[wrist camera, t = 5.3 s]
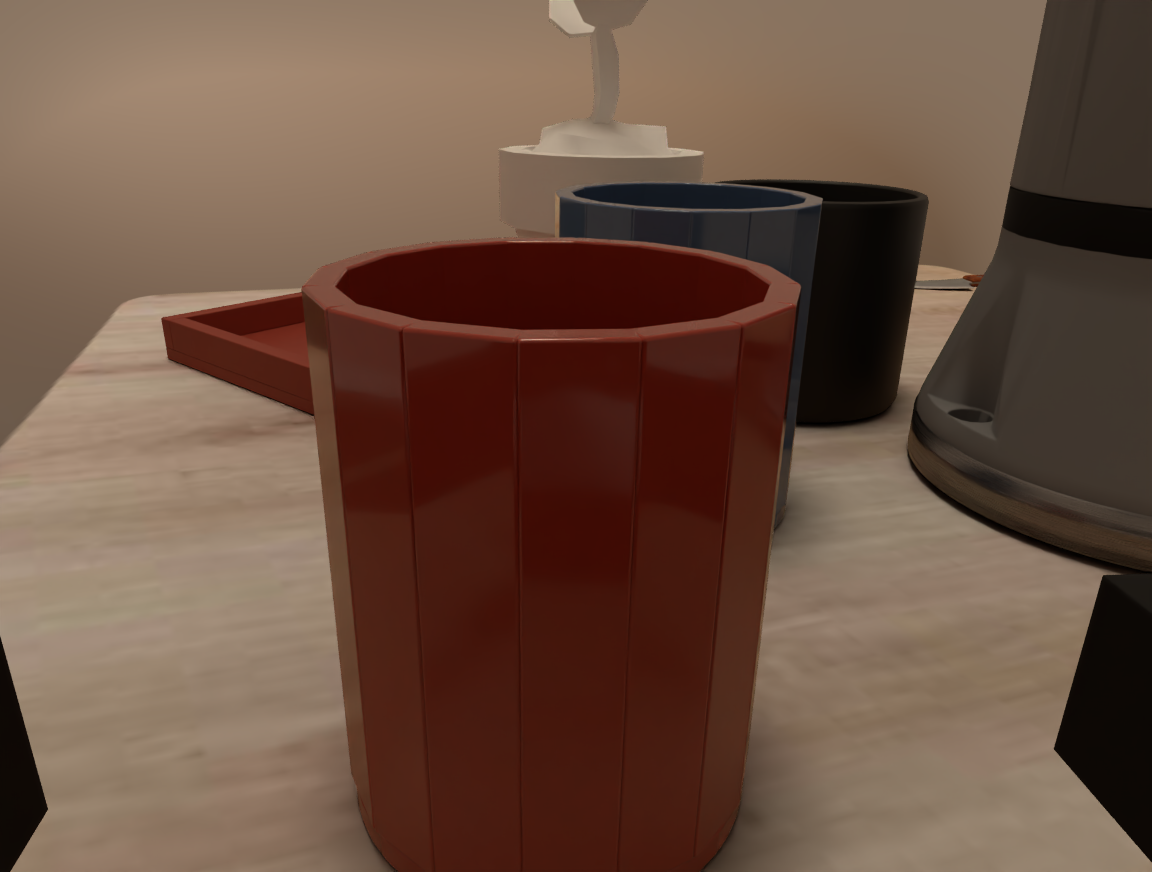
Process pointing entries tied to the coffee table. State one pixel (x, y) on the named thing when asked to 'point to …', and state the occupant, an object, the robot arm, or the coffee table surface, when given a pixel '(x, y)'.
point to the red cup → (549, 542)
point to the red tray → (248, 346)
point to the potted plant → (588, 132)
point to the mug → (857, 296)
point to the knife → (951, 283)
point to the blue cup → (711, 241)
